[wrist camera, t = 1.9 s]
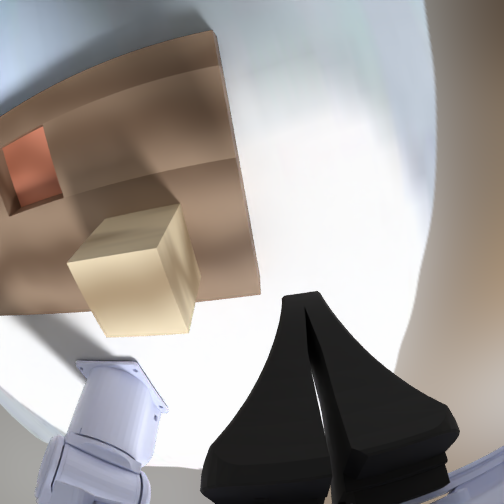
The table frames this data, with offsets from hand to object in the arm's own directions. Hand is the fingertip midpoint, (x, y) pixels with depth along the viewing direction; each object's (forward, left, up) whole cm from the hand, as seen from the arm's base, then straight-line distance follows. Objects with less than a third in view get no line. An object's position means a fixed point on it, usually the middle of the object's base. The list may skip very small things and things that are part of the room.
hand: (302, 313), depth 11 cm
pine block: (0, +8, -7) cm, 11 cm away
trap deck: (+3, +20, -9) cm, 22 cm away
